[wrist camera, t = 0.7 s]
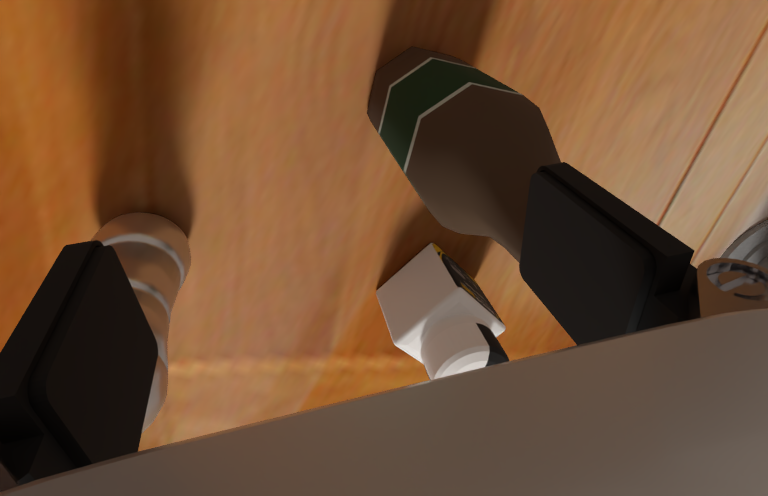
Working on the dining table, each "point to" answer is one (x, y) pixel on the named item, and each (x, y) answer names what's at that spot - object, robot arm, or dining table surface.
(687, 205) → the dining table surface
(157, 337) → the plastic bottle
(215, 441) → the robot arm
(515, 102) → the beer bottle
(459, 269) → the medicine bottle
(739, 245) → the mate gourd
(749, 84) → the dining table surface
